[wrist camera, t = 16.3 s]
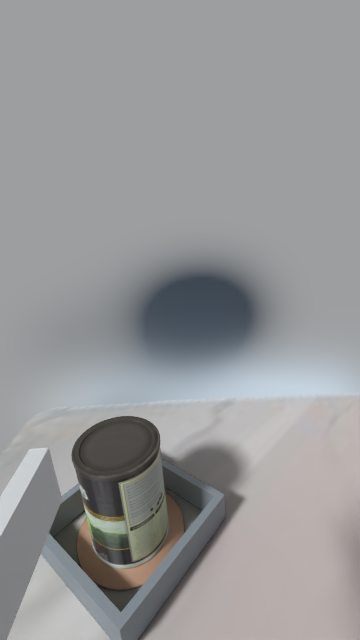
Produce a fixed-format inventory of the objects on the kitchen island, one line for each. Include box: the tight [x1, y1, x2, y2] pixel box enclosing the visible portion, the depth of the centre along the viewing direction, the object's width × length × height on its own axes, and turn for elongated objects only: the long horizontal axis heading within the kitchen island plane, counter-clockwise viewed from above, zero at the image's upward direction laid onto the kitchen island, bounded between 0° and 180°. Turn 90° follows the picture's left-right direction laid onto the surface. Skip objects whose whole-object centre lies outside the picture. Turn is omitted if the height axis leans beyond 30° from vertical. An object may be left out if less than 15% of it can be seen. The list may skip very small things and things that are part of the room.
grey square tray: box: [41, 459, 226, 640], centre depth 42 cm, size 18×18×4 cm
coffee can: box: [72, 416, 169, 569], centre depth 40 cm, size 10×10×14 cm
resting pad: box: [77, 492, 184, 590], centre depth 42 cm, size 14×14×1 cm
